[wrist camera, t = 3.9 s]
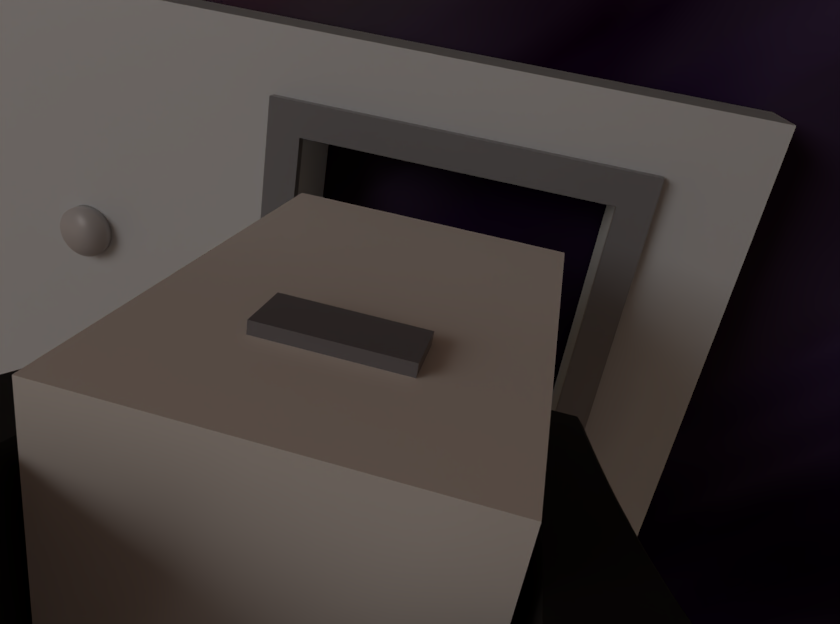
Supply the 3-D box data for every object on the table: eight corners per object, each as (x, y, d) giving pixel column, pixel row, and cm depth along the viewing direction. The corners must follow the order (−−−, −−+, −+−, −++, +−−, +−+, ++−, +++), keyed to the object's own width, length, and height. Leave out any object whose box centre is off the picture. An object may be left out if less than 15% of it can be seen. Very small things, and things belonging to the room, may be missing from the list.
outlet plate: (598, 582, 17) (600, 640, 15) (-5, 411, 19) (-57, 447, 17) (773, 112, 12) (800, 127, 11) (-54, -50, 14) (-132, -57, 13)
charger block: (504, 475, 12) (436, 862, 6) (279, 414, 12) (40, 726, 7) (567, 243, 10) (546, 504, 5) (303, 182, 11) (10, 356, 5)
